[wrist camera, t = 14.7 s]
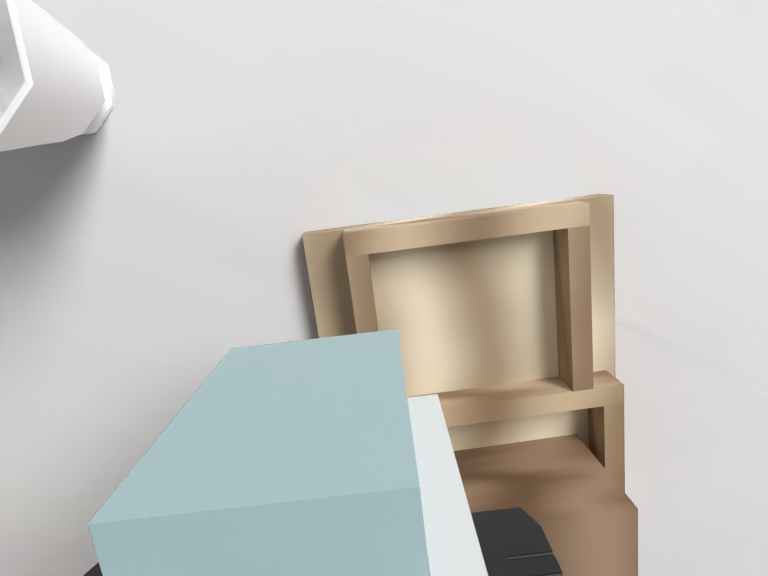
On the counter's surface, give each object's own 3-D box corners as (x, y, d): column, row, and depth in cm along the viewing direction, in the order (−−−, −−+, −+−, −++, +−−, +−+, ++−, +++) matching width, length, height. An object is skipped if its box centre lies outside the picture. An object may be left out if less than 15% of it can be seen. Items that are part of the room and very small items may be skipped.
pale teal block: (273, 558, 13) (191, 870, 7) (231, 348, 12) (86, 524, 6) (422, 542, 13) (460, 843, 7) (397, 328, 12) (419, 486, 6)
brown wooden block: (401, 523, 27) (412, 619, 21) (392, 459, 26) (401, 542, 20) (578, 497, 27) (637, 586, 22) (576, 434, 26) (637, 508, 21)
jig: (358, 565, 29) (358, 609, 26) (304, 232, 24) (297, 240, 21) (607, 530, 29) (634, 570, 26) (601, 193, 25) (633, 197, 22)
